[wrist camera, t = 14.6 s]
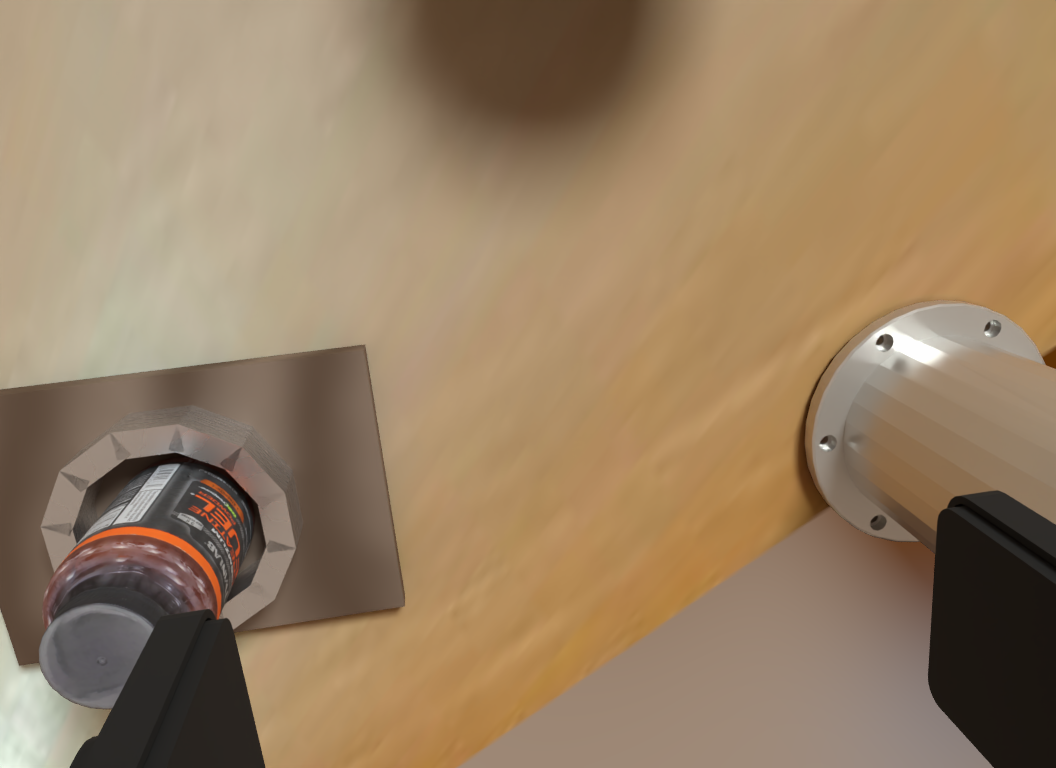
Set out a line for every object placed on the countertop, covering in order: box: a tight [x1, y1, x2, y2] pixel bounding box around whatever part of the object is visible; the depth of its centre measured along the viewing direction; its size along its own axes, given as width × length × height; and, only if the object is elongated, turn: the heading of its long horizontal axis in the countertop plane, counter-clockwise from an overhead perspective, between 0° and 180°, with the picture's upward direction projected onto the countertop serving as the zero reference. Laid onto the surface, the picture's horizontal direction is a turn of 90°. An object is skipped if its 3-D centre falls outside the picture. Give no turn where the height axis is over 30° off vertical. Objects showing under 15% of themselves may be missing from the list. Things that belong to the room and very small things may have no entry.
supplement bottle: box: [39, 457, 255, 709], centre depth 33 cm, size 6×6×11 cm
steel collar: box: [41, 405, 303, 629], centre depth 37 cm, size 10×10×2 cm
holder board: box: [0, 345, 405, 665], centre depth 39 cm, size 18×13×1 cm
